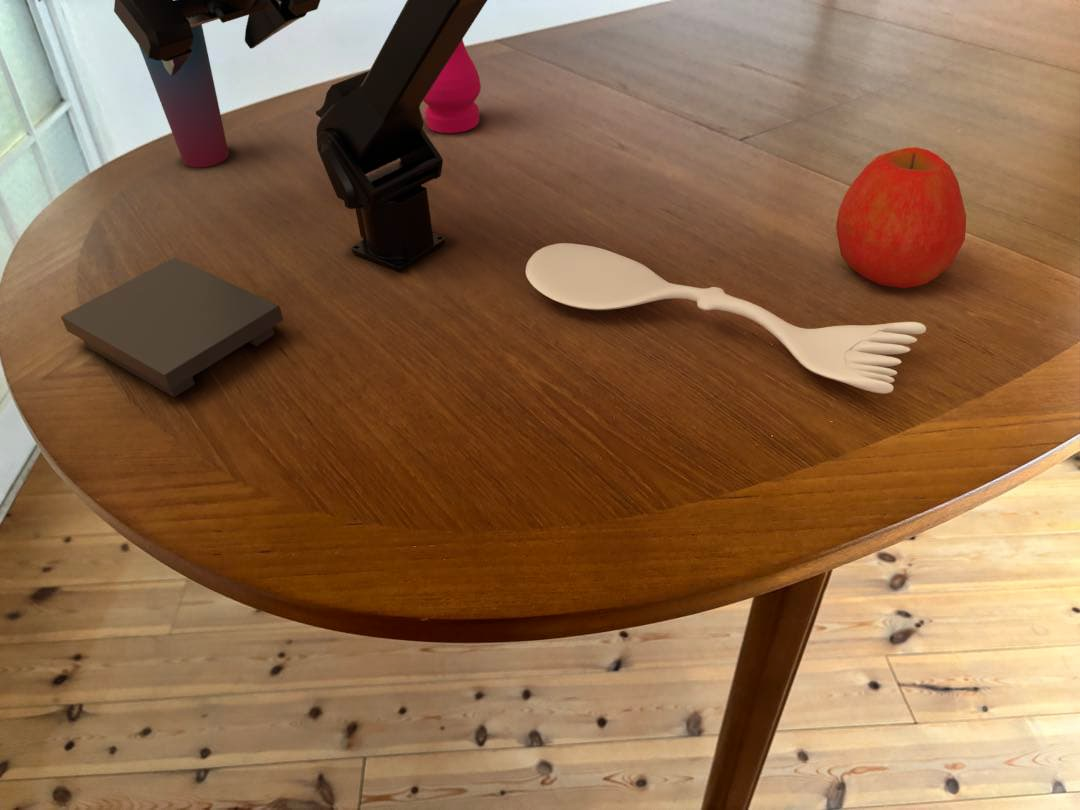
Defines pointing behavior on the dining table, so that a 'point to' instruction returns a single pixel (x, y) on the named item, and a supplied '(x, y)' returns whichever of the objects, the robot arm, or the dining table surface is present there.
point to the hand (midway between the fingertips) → (210, 57)
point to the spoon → (625, 282)
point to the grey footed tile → (172, 323)
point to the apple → (902, 219)
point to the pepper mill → (454, 95)
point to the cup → (192, 105)
